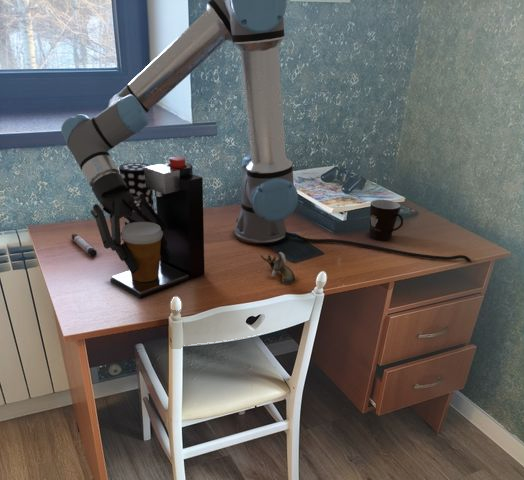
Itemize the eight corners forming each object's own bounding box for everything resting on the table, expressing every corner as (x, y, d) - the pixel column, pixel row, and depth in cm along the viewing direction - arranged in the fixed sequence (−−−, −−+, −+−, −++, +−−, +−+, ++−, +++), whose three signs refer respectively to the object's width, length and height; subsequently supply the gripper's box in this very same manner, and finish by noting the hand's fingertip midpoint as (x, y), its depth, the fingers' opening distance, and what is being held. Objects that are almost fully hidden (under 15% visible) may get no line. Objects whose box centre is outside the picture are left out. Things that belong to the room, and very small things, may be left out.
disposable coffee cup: (116, 280, 126) (111, 231, 119) (139, 265, 133) (135, 218, 127) (151, 288, 123) (148, 238, 116) (172, 272, 130) (170, 225, 124)
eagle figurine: (253, 270, 135) (272, 277, 128) (265, 244, 134) (285, 250, 127) (275, 281, 140) (295, 288, 132) (287, 255, 139) (307, 262, 132)
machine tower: (207, 274, 135) (205, 168, 121) (187, 281, 131) (183, 173, 116) (177, 259, 141) (172, 158, 127) (157, 266, 137) (149, 162, 123)
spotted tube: (159, 234, 156) (154, 164, 145) (151, 244, 149) (146, 171, 138) (131, 232, 157) (124, 161, 146) (122, 242, 150) (114, 169, 139)
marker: (97, 256, 141) (96, 248, 140) (90, 257, 140) (89, 250, 139) (76, 237, 151) (75, 230, 150) (69, 239, 150) (68, 232, 149)
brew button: (188, 167, 122) (188, 158, 121) (176, 170, 120) (176, 161, 119) (178, 164, 124) (178, 155, 123) (166, 166, 122) (165, 158, 121)
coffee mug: (362, 231, 165) (367, 199, 159) (389, 231, 166) (395, 199, 160) (372, 245, 155) (377, 212, 150) (401, 246, 156) (407, 212, 151)
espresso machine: (190, 280, 131) (187, 172, 117) (140, 299, 122) (129, 184, 108) (160, 265, 138) (153, 161, 124) (110, 282, 128) (96, 172, 114)
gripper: (138, 181, 134) (181, 260, 134) (58, 198, 120) (107, 285, 120) (149, 164, 128) (195, 246, 128) (67, 179, 115) (118, 271, 114)
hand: (152, 265), depth 124 cm, fingers closed on disposable coffee cup, 9 cm apart
